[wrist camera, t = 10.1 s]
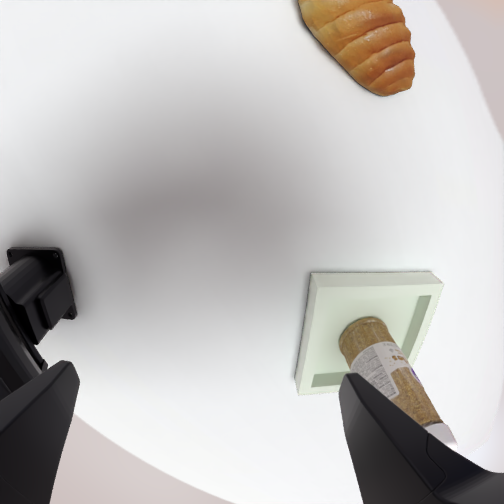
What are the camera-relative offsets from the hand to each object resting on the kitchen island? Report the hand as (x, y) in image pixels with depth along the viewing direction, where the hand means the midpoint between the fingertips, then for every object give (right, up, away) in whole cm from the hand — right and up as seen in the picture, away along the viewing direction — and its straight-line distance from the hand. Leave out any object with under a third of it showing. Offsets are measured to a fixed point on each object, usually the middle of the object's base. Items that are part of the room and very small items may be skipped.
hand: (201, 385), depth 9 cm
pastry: (+9, +20, +7) cm, 22 cm away
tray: (+11, -3, +16) cm, 19 cm away
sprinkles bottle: (+11, -3, +15) cm, 19 cm away
